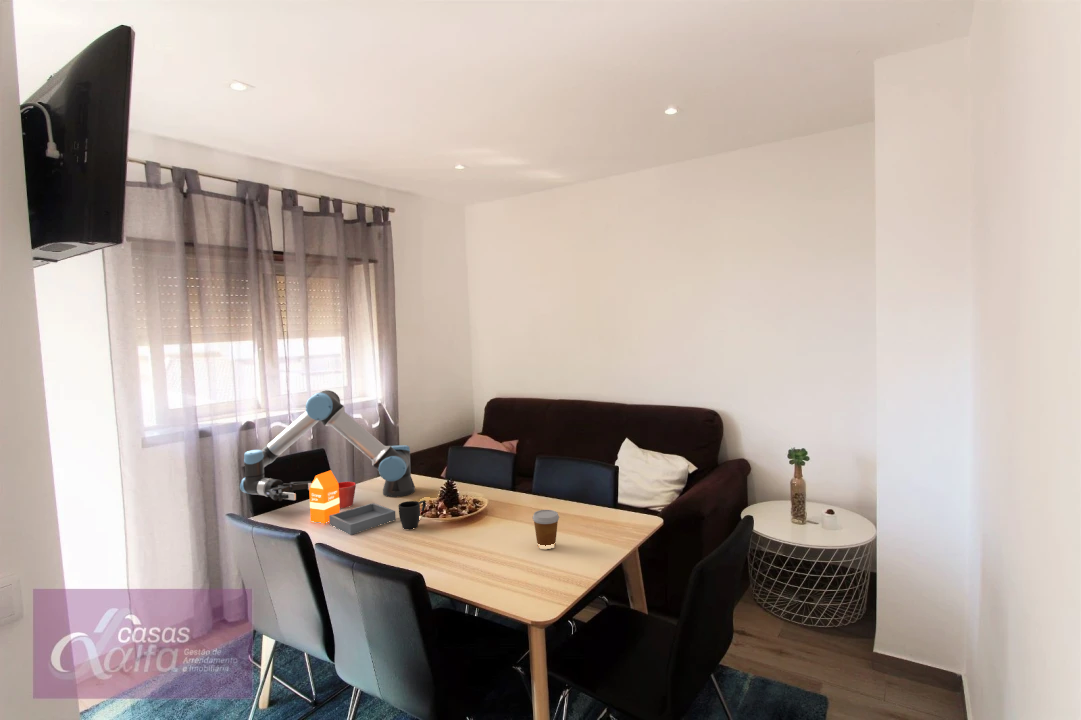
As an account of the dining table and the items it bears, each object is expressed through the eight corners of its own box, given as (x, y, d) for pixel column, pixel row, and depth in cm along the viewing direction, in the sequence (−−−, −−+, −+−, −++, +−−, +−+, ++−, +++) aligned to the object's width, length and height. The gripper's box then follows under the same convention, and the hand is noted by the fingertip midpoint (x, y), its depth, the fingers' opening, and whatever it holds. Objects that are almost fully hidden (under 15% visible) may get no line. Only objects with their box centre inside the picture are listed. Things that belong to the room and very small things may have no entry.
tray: (373, 511, 229) (373, 502, 229) (395, 520, 218) (395, 510, 217) (329, 525, 214) (329, 515, 214) (350, 535, 203) (350, 524, 202)
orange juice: (310, 522, 218) (308, 474, 217) (326, 515, 226) (324, 469, 225) (325, 524, 215) (323, 476, 214) (340, 517, 223) (338, 470, 222)
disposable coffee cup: (540, 554, 181) (540, 520, 181) (528, 544, 190) (527, 512, 189) (564, 548, 186) (564, 515, 185) (551, 539, 194) (551, 507, 193)
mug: (432, 523, 213) (431, 500, 212) (408, 533, 203) (407, 508, 203) (419, 519, 218) (418, 497, 217) (395, 528, 209) (394, 504, 208)
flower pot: (347, 500, 246) (346, 480, 245) (361, 504, 239) (360, 483, 239) (326, 506, 237) (325, 485, 236) (340, 511, 231) (339, 489, 230)
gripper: (294, 488, 243) (330, 492, 235) (246, 504, 219) (284, 510, 212) (293, 472, 242) (329, 475, 234) (245, 487, 219) (283, 491, 211)
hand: (308, 492), depth 223 cm, fingers open, 13 cm apart
